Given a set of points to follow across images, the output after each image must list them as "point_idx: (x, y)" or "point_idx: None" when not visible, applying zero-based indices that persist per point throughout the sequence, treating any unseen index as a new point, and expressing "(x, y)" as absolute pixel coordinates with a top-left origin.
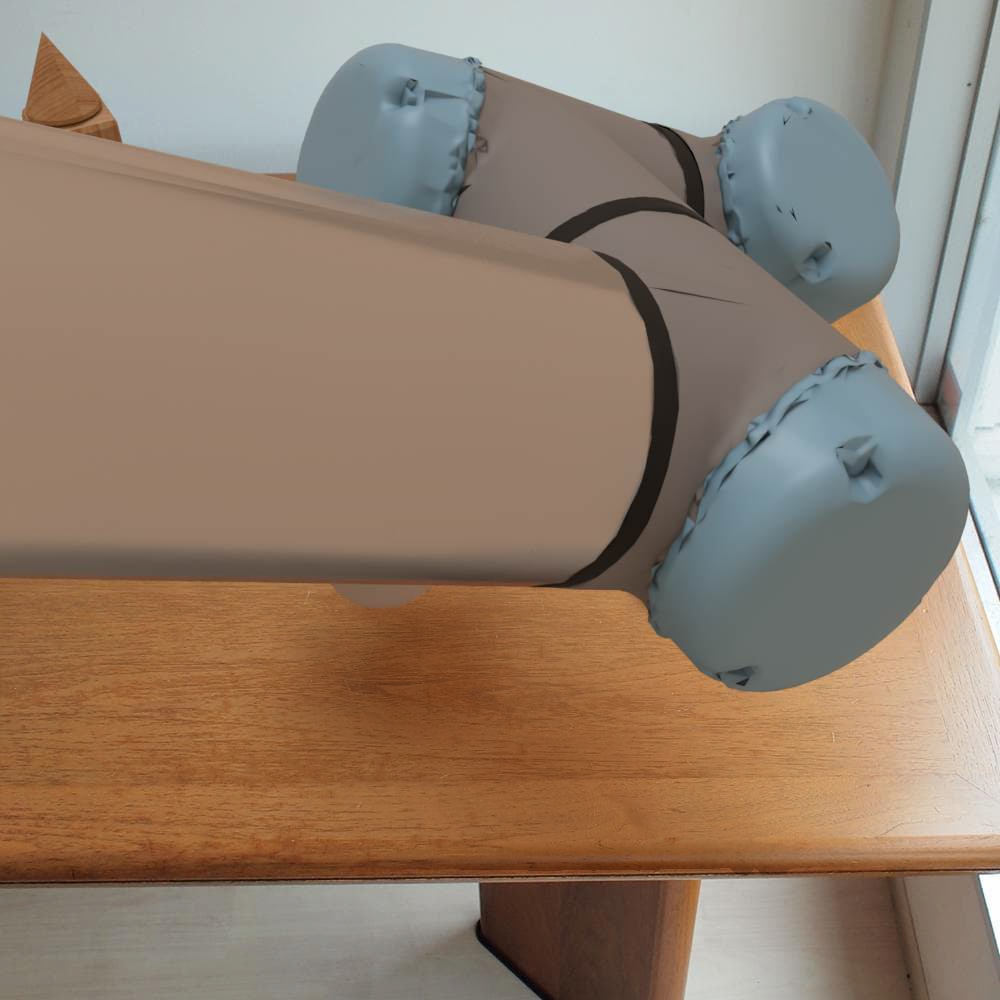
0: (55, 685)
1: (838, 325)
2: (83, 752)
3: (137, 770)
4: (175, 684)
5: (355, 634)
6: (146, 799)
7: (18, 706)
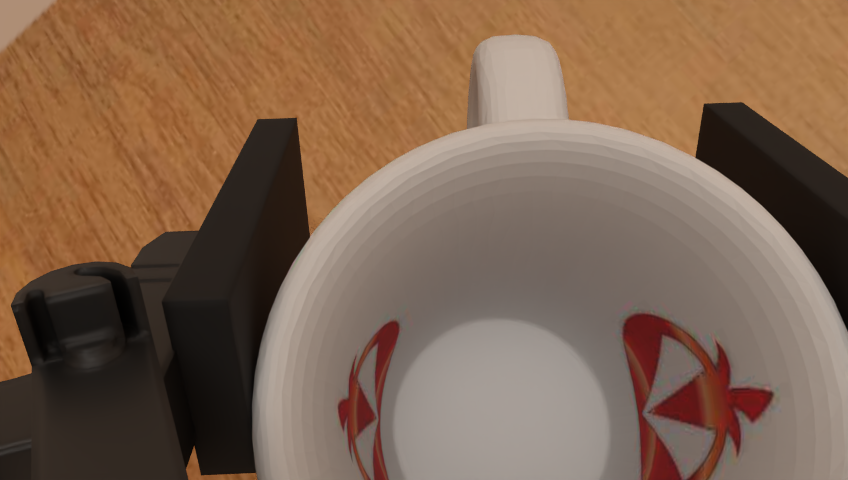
0: (118, 24)
1: None
2: (39, 148)
3: (51, 239)
4: (213, 166)
5: None
6: (13, 291)
7: (61, 11)
